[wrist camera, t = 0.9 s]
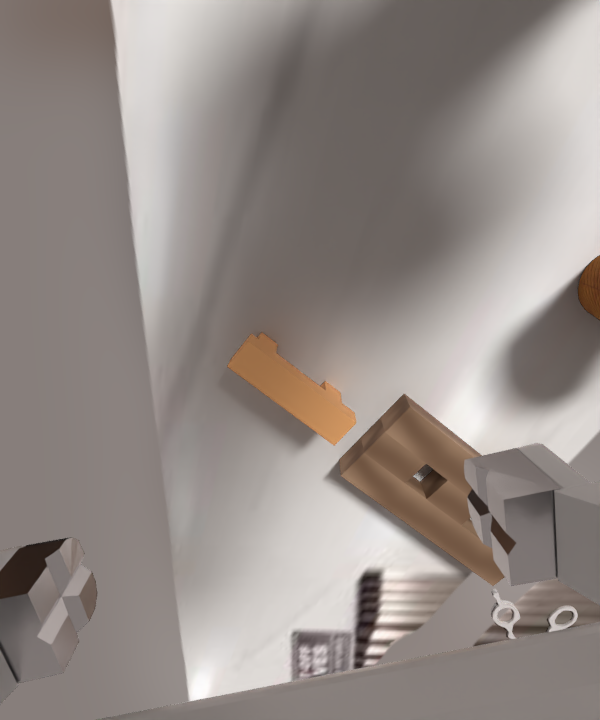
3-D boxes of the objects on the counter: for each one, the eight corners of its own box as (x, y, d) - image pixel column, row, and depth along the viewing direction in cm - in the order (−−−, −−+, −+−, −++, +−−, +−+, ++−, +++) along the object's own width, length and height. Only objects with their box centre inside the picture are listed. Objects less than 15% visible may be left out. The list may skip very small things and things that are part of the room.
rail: (404, 393, 45) (410, 406, 42) (551, 510, 50) (565, 529, 47) (339, 459, 48) (340, 476, 45) (483, 565, 52) (493, 585, 50)
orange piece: (256, 321, 43) (247, 340, 38) (351, 394, 46) (356, 422, 40) (238, 344, 44) (227, 366, 38) (331, 415, 46) (334, 445, 41)
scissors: (584, 598, 53) (544, 713, 60) (580, 593, 54) (541, 707, 61) (493, 592, 53) (464, 708, 60) (491, 587, 54) (462, 702, 61)
